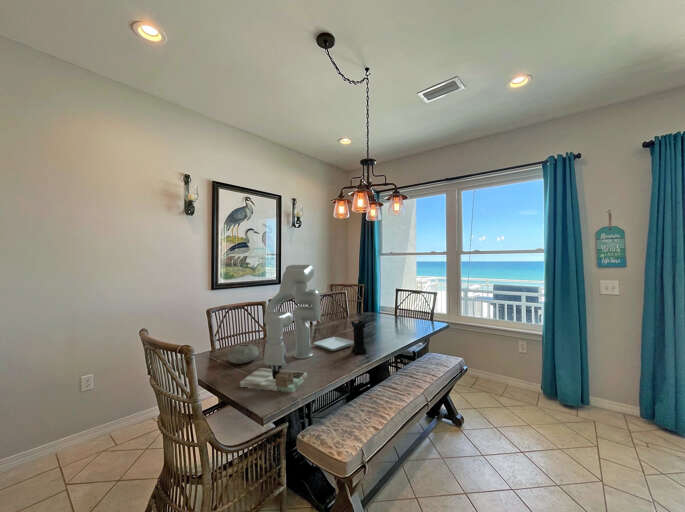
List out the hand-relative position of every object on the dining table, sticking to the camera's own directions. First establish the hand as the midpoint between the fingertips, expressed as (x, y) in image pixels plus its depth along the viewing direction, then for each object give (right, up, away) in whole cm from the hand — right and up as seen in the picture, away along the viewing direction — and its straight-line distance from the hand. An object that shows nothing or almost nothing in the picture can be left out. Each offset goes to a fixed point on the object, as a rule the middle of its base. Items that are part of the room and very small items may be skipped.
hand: (276, 378), depth 138 cm
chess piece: (+43, -4, +46) cm, 63 cm away
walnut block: (+5, -2, -3) cm, 6 cm away
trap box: (-2, -4, +5) cm, 7 cm away
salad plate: (+27, -4, +61) cm, 67 cm away
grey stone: (-28, -5, +35) cm, 45 cm away
